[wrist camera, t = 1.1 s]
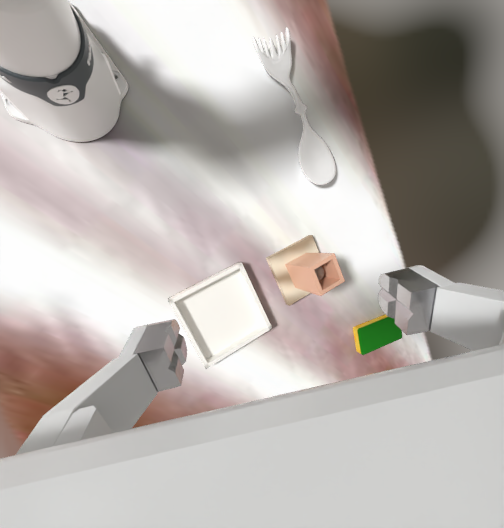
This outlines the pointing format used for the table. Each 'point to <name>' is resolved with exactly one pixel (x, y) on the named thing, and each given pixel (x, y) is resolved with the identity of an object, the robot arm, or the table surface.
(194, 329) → the tray
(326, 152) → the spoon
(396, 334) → the dish sponge
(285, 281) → the stand
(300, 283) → the sleeve
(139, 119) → the table surface
